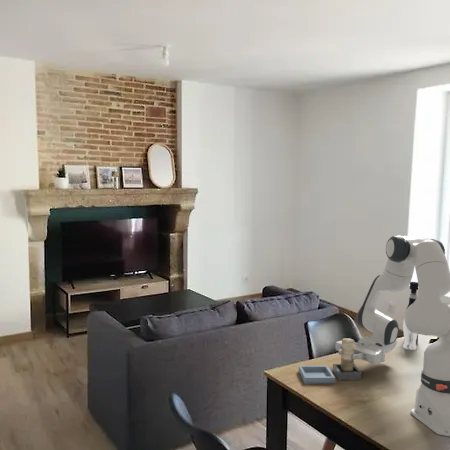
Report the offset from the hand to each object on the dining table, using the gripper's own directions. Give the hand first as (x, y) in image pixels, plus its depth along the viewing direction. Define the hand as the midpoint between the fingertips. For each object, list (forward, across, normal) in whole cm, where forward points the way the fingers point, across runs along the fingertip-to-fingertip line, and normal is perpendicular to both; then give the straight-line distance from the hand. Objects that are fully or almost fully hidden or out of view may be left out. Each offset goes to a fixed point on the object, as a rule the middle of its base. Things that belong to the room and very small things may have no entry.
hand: (346, 355), depth 202 cm
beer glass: (-52, -4, +9) cm, 52 cm away
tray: (+11, -6, +9) cm, 15 cm away
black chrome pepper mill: (-59, -8, +9) cm, 60 cm away
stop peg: (-1, 0, +8) cm, 8 cm away
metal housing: (-1, 0, +9) cm, 9 cm away
